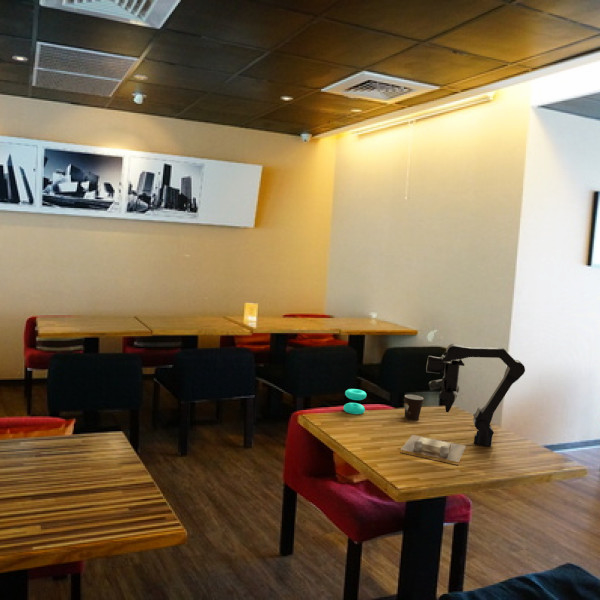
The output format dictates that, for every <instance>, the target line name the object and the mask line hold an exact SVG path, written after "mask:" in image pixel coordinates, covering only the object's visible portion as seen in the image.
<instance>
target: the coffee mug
mask: <svg viewBox="0 0 600 600" xmlns="http://www.w3.org/2000/svg"><path fill="white" fill-rule="evenodd" d="M402 400H403V405H404V418H405V419H407V420H410V421H418V420H419V419H420V414H421V410H422V407H423V402H424V397H422V396H420V395H418V394H417V395H416V394H405V395H404V397H403V399H402Z"/></svg>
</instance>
